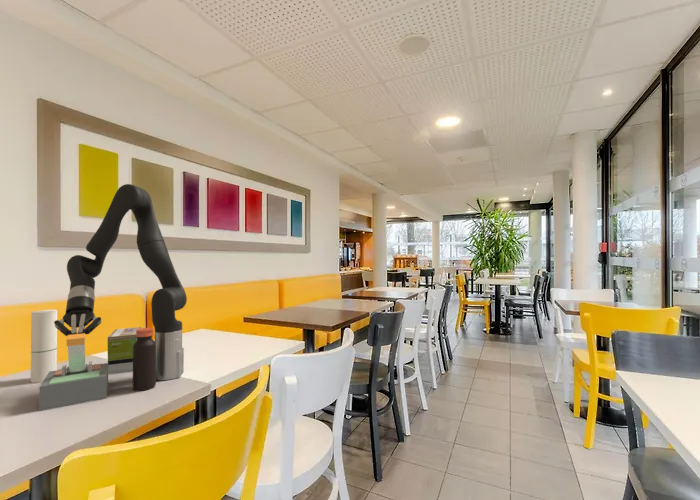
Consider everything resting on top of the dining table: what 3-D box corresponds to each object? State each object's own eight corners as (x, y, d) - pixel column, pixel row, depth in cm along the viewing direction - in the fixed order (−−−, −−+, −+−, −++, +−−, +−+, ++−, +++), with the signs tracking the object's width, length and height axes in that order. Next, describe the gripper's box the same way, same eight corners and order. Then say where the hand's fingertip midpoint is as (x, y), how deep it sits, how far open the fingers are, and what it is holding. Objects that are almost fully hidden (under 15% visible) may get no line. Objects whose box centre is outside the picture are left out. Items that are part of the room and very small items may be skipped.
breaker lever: (87, 368, 114) (86, 333, 110) (86, 373, 112) (85, 337, 108) (68, 371, 111) (66, 335, 107) (67, 376, 109) (65, 339, 105)
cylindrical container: (54, 374, 131) (55, 309, 131) (58, 378, 126) (59, 310, 126) (28, 379, 125) (29, 311, 125) (32, 384, 121) (33, 313, 121)
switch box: (108, 382, 122) (108, 354, 122) (106, 398, 109) (106, 366, 109) (49, 392, 113) (49, 362, 113) (39, 410, 100) (39, 376, 100)
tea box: (114, 363, 144) (115, 328, 144) (142, 360, 148) (142, 326, 148) (106, 374, 130) (107, 336, 130) (137, 371, 134) (137, 333, 134)
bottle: (157, 387, 117) (158, 329, 117) (135, 393, 112) (135, 332, 113) (152, 382, 122) (153, 326, 122) (130, 387, 117) (131, 329, 118)
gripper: (54, 296, 114) (47, 341, 103) (103, 293, 121) (100, 336, 111) (57, 309, 118) (50, 354, 108) (104, 306, 125) (101, 348, 115)
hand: (75, 345), depth 109 cm, fingers closed
